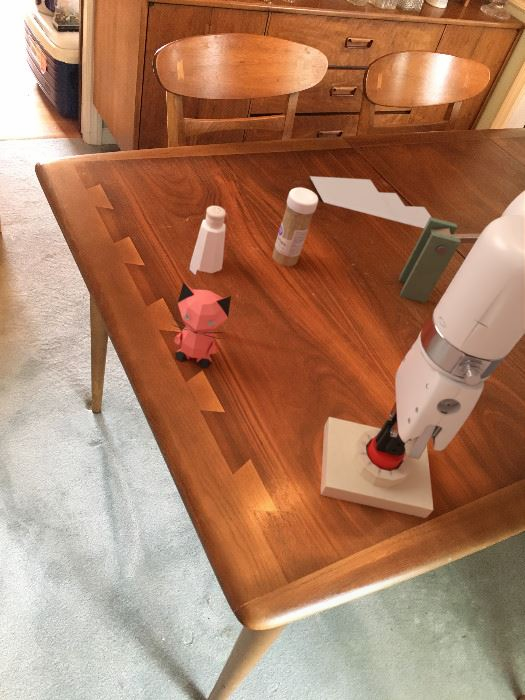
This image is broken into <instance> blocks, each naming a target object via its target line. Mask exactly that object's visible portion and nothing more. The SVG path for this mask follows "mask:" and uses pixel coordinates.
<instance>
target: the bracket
mask: <svg viewBox="0 0 525 700" xmlns="http://www.w3.org/2000/svg"><path fill="white" fill-rule="evenodd" d="M457 224H458V223H455V222H451V221H447V220H443V219H439V218H436V217H432V216H431V217H430V218H429V220H428V222H427V224H426V226H425V228H423V229H422V232H421V234H420V235H419V237H418V239H417V241H416V244H415V245H414V246H413V249H412V251H411V253H410V254H409V256H408V258H407V261H406V263H405V265H404V267H403V269H402V271H401V272H400V274H399V276H398V282H400V283H404V284H403V286H402V288H401V290H400V292H399V297H401V298H405V299H408V300H412V301H416V302H419V303H420V302H421V303H426V302H427V301H428V299H429V297H430V296H431V294H432V292H433V290H434V289H435V287H436V285H437V284H438V282H439V280H440V279H441V277H442V276H443V274H444V272H445V270H446V268H447V267H448V265H449V263H450V262H451V261H452V258H453V256H454V255H455V253H456V251H457V250H458V248H459V246H460V245H461V244H462V243H461V242H460V239H458V238H455V237H451V236H447V235H443V234H439V233H435V232H432V233H431V235H430V230H431V229H442V228H449V229H450V234H455V233H456V230H457V229H458V225H457Z"/></svg>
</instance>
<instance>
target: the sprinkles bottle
mask: <svg viewBox="0 0 525 700" xmlns="http://www.w3.org/2000/svg"><path fill="white" fill-rule="evenodd" d="M318 203H319V197H318V195H317V194H316V193H315V192H314V191H312V190H311V189H308V188H306V187H294V188H292V189H290V190H289V193H288V195H287V199H286V208H285V211H284V214H283V218H282V221H281V223H280V227H279V230H278V232H277V236H276V240H275V244H274V248H273V250H272V251H273V252H272V255H271V256H272V259H273V261H274V262H275V263H277V264H278V265H280V266H283V267H294V266H295V265H296V264H297V263H298V261H299V257H300V254H301V252H302V249H303V247H304V244H305V240H306V237H307V234H308V232H309V228H310V224H311V221H312V218H313V215H314V213H315V212H316V210H317V207H318Z"/></svg>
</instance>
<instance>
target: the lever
mask: <svg viewBox="0 0 525 700" xmlns="http://www.w3.org/2000/svg"><path fill="white" fill-rule="evenodd" d="M432 232H435V233H439V234H443V235H447V236H451V237H455V238H458V239H460V242H461V243H460V244H475V242H476V241H477V239H478V238H479V236H480V234H481V233H454V234H450V229H449V228H442V229H431V230H430V235H431V233H432Z"/></svg>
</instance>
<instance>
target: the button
mask: <svg viewBox="0 0 525 700" xmlns="http://www.w3.org/2000/svg"><path fill="white" fill-rule="evenodd" d="M376 436H377V435H376ZM376 436H375V437H374V439H373V440H372V442H371V443H370V445H369V447H368V456H369V458H370V460H371V461H372V463H373V464H375V465H376V466H377V467H379V468H381V469H385V470H391V469H394V468H396V467H397V466H398V464H399V463H400V462H401V460H402V459H403V458H404V455H405V452H404V453H403V455H401V456H398V455H390V454H387V453H385V452H381V451H377V450H376V444H377V443H376Z"/></svg>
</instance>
